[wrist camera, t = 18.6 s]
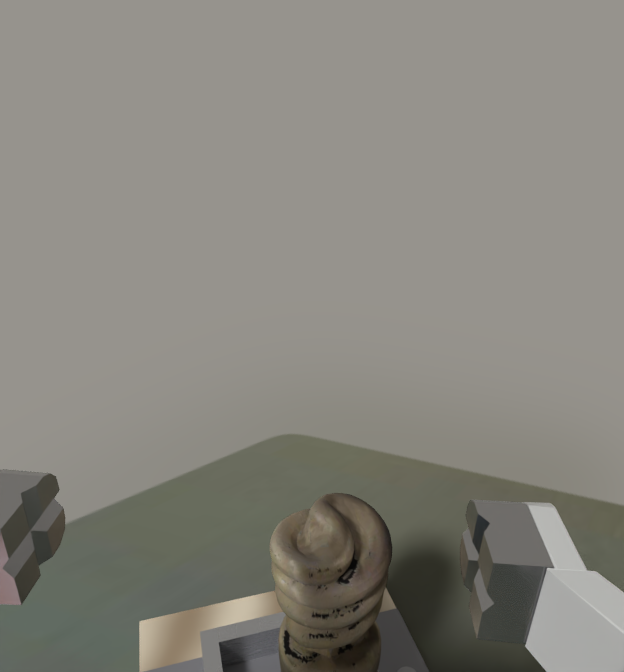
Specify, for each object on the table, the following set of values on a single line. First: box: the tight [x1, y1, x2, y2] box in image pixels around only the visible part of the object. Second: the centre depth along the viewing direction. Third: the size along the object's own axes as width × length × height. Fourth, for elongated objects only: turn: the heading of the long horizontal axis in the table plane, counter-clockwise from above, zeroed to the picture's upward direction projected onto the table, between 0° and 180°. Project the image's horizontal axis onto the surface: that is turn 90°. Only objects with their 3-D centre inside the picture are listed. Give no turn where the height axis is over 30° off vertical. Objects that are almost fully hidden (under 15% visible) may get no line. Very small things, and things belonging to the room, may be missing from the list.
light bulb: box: [270, 493, 392, 672], centre depth 27 cm, size 6×6×15 cm
